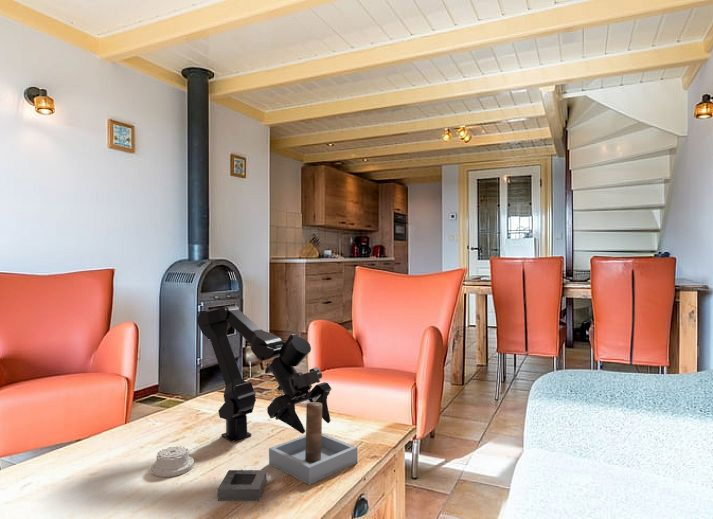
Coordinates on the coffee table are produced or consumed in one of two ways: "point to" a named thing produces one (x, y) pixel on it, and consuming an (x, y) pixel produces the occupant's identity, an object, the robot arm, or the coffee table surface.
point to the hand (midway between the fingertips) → (317, 427)
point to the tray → (294, 463)
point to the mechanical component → (172, 462)
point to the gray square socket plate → (242, 485)
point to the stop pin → (313, 431)
